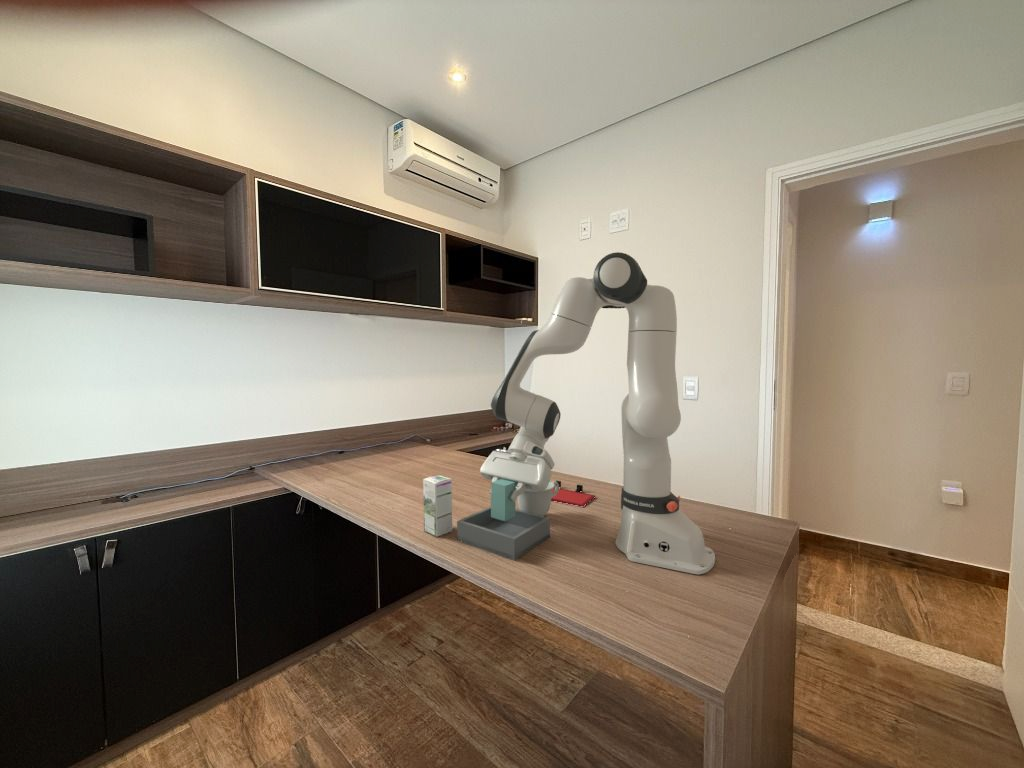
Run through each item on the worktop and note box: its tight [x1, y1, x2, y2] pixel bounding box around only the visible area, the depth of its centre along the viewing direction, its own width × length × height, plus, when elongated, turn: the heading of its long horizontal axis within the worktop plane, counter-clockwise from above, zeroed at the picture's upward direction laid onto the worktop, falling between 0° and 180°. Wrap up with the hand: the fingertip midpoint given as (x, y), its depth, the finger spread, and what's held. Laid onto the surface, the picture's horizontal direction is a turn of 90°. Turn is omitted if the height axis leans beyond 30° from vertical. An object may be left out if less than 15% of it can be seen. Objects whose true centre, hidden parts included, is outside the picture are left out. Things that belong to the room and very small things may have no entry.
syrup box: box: [422, 474, 453, 538], centre depth 108 cm, size 6×6×14 cm
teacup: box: [516, 480, 559, 517], centre depth 119 cm, size 12×15×10 cm
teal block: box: [490, 479, 516, 521], centre depth 104 cm, size 4×4×9 cm
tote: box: [456, 505, 551, 561], centre depth 104 cm, size 18×16×5 cm
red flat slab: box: [551, 480, 596, 507], centre depth 142 cm, size 30×3×15 cm
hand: (501, 497), depth 103 cm, fingers closed on teal block, 4 cm apart
